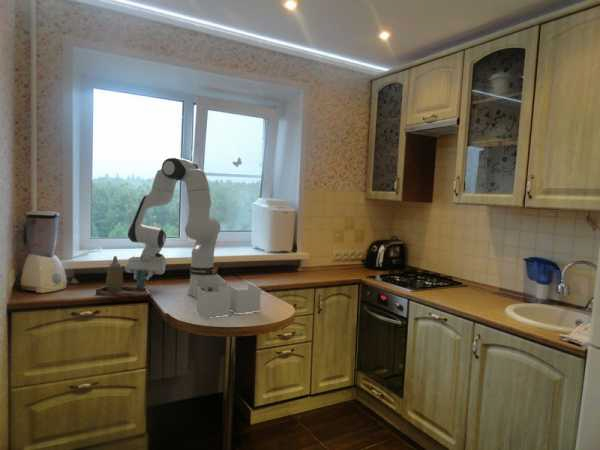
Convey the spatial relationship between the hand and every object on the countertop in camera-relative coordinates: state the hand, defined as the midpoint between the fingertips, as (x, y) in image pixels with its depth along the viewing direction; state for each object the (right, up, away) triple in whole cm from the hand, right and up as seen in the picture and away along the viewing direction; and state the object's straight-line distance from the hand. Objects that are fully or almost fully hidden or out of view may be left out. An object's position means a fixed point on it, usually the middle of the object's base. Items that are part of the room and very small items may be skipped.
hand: (140, 279), depth 204 cm
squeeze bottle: (-11, -6, -5) cm, 14 cm away
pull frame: (-7, -6, -6) cm, 11 cm away
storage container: (+51, -11, -31) cm, 60 cm away
